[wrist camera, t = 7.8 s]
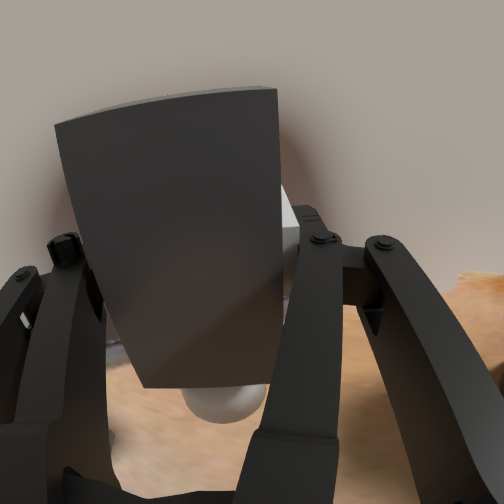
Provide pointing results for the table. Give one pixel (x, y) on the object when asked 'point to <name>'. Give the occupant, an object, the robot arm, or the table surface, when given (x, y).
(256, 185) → the plug
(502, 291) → the table surface
